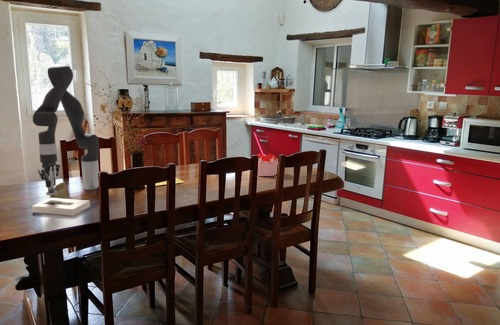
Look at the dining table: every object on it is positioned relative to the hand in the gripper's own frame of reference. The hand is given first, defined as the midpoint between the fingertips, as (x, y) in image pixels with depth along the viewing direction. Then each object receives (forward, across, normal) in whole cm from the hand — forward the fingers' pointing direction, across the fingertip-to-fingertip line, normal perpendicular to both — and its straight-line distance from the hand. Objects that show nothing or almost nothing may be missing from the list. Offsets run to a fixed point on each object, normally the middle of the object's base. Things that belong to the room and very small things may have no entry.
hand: (50, 186), depth 190 cm
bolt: (+4, 0, 0) cm, 4 cm away
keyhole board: (+12, 0, +5) cm, 13 cm away
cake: (+12, -103, +96) cm, 141 cm away
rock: (+12, -15, -7) cm, 21 cm away
